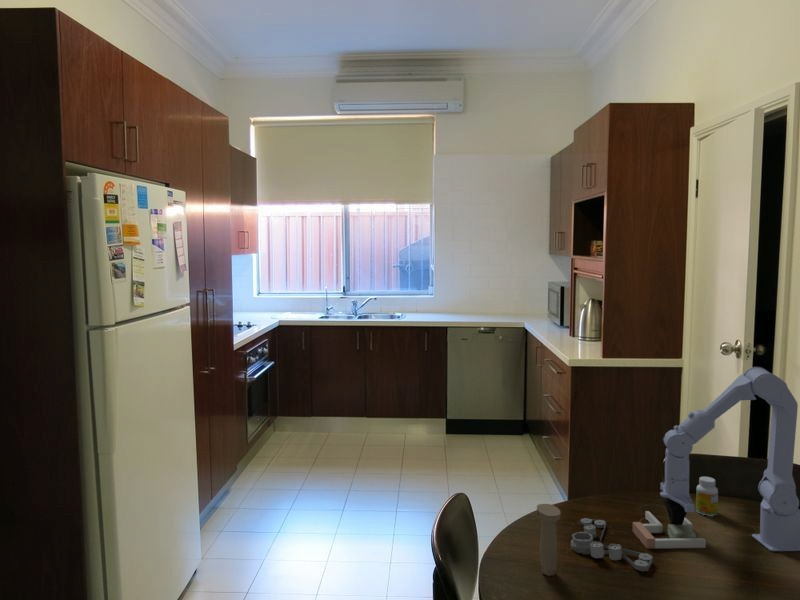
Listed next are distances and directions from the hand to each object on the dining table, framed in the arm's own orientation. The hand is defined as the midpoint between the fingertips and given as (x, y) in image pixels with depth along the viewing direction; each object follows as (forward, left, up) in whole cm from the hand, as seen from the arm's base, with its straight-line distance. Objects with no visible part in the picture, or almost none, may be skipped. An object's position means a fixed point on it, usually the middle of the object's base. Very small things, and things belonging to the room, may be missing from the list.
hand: (676, 527), depth 148 cm
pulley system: (+22, +7, -2) cm, 23 cm away
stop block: (+10, +3, -1) cm, 11 cm away
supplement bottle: (-14, -12, -2) cm, 18 cm away
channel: (+2, 0, -1) cm, 3 cm away
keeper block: (0, +4, -2) cm, 4 cm away
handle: (+38, +18, -2) cm, 42 cm away
